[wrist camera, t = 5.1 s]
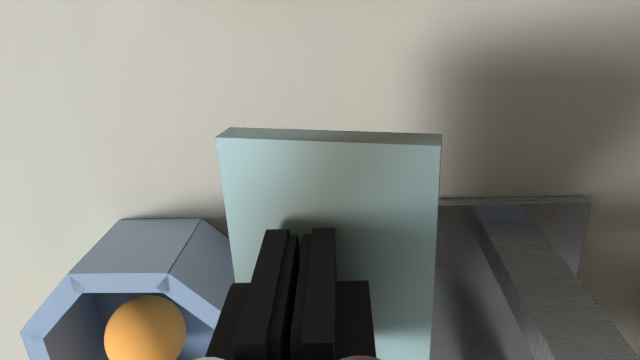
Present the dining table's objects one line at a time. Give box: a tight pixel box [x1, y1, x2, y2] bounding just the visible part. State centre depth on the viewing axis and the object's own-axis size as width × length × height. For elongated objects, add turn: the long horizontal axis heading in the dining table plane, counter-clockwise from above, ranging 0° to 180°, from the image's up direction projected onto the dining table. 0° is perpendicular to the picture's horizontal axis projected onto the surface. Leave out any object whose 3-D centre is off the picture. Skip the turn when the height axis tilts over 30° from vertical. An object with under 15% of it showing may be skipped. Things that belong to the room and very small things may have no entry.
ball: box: [104, 295, 186, 360], centre depth 20 cm, size 3×3×3 cm
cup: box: [20, 218, 235, 360], centre depth 20 cm, size 9×9×4 cm
